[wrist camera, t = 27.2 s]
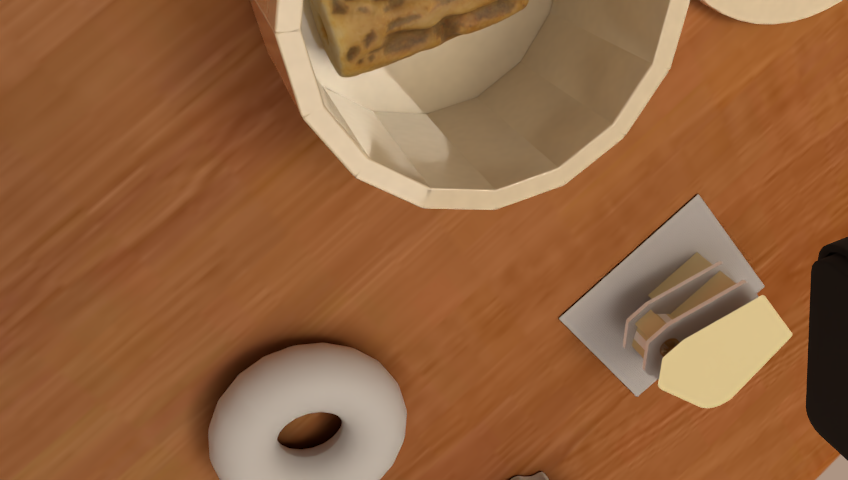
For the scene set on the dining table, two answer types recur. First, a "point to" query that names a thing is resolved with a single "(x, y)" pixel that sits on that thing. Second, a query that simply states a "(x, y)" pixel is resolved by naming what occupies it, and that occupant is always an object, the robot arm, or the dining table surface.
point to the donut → (302, 394)
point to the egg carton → (532, 477)
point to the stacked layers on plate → (681, 313)
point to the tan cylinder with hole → (398, 27)
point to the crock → (482, 98)
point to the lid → (769, 9)
